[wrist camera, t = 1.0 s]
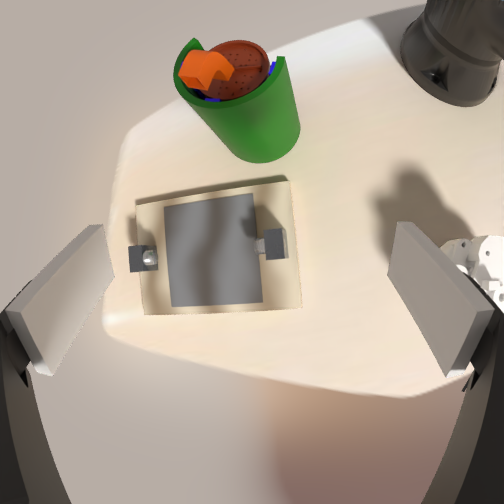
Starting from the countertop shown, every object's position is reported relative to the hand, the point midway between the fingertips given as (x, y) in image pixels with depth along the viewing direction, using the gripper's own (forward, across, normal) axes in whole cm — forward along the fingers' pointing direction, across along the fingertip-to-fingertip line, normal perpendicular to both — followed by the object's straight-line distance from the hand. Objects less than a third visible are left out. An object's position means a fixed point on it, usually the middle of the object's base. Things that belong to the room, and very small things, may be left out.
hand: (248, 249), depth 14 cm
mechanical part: (+16, +25, -13) cm, 33 cm away
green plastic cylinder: (+30, +1, +2) cm, 30 cm away
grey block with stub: (+22, +2, -10) cm, 24 cm away
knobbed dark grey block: (+24, -13, -13) cm, 30 cm away
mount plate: (+24, -5, -12) cm, 27 cm away
